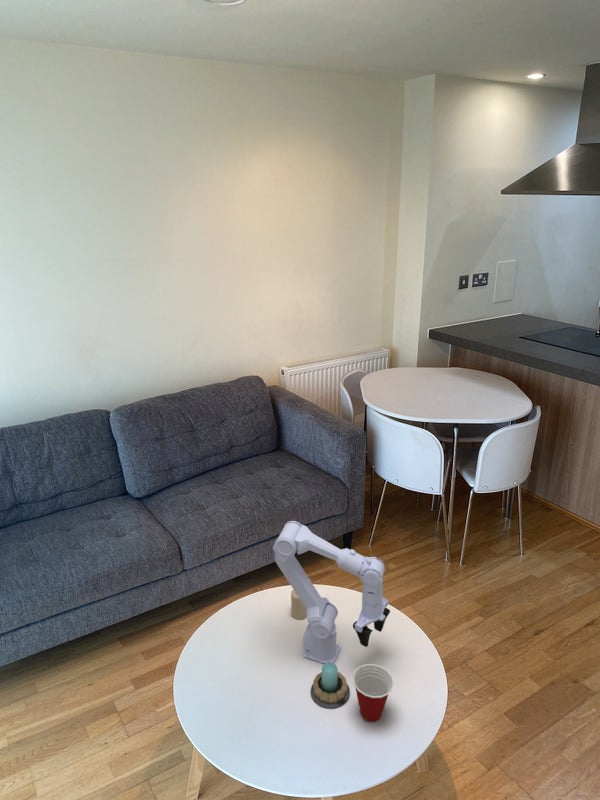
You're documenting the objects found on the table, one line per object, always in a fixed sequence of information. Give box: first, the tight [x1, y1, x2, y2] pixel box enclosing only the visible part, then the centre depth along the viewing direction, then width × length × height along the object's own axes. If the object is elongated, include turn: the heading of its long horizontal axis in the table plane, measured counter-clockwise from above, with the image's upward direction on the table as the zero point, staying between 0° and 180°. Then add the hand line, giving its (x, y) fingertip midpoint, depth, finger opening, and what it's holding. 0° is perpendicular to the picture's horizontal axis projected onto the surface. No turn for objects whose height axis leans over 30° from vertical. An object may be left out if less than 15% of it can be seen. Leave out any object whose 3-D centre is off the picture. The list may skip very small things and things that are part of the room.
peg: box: [321, 663, 339, 693], centre depth 164 cm, size 4×4×8 cm
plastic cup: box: [352, 663, 395, 723], centre depth 157 cm, size 11×11×12 cm
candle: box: [290, 588, 307, 621], centre depth 195 cm, size 6×6×10 cm
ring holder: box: [310, 671, 351, 710], centre depth 165 cm, size 11×11×3 cm
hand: (371, 637), depth 173 cm, fingers open, 7 cm apart
